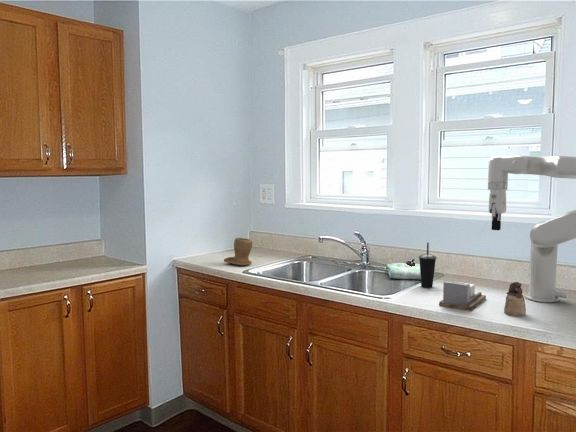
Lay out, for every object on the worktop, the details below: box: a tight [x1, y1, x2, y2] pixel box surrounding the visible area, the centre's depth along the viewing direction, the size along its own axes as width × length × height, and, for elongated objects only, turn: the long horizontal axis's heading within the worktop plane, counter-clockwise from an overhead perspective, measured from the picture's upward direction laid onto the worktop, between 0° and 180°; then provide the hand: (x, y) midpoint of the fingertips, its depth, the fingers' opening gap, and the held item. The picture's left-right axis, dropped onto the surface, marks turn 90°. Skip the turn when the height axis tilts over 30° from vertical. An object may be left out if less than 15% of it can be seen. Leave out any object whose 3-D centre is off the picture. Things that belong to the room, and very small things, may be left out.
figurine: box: [503, 281, 527, 318], centre depth 176 cm, size 7×7×12 cm
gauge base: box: [438, 291, 487, 312], centre depth 192 cm, size 12×20×3 cm, turn 143°
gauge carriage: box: [459, 281, 476, 299], centre depth 192 cm, size 9×10×5 cm
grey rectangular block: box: [442, 280, 471, 306], centre depth 185 cm, size 9×3×8 cm, turn 53°
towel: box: [386, 262, 421, 281], centre depth 240 cm, size 18×21×5 cm
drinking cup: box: [418, 242, 437, 289], centre depth 217 cm, size 8×8×20 cm
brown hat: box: [223, 237, 253, 266], centre depth 269 cm, size 15×12×15 cm
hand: (496, 229), depth 203 cm, fingers closed
